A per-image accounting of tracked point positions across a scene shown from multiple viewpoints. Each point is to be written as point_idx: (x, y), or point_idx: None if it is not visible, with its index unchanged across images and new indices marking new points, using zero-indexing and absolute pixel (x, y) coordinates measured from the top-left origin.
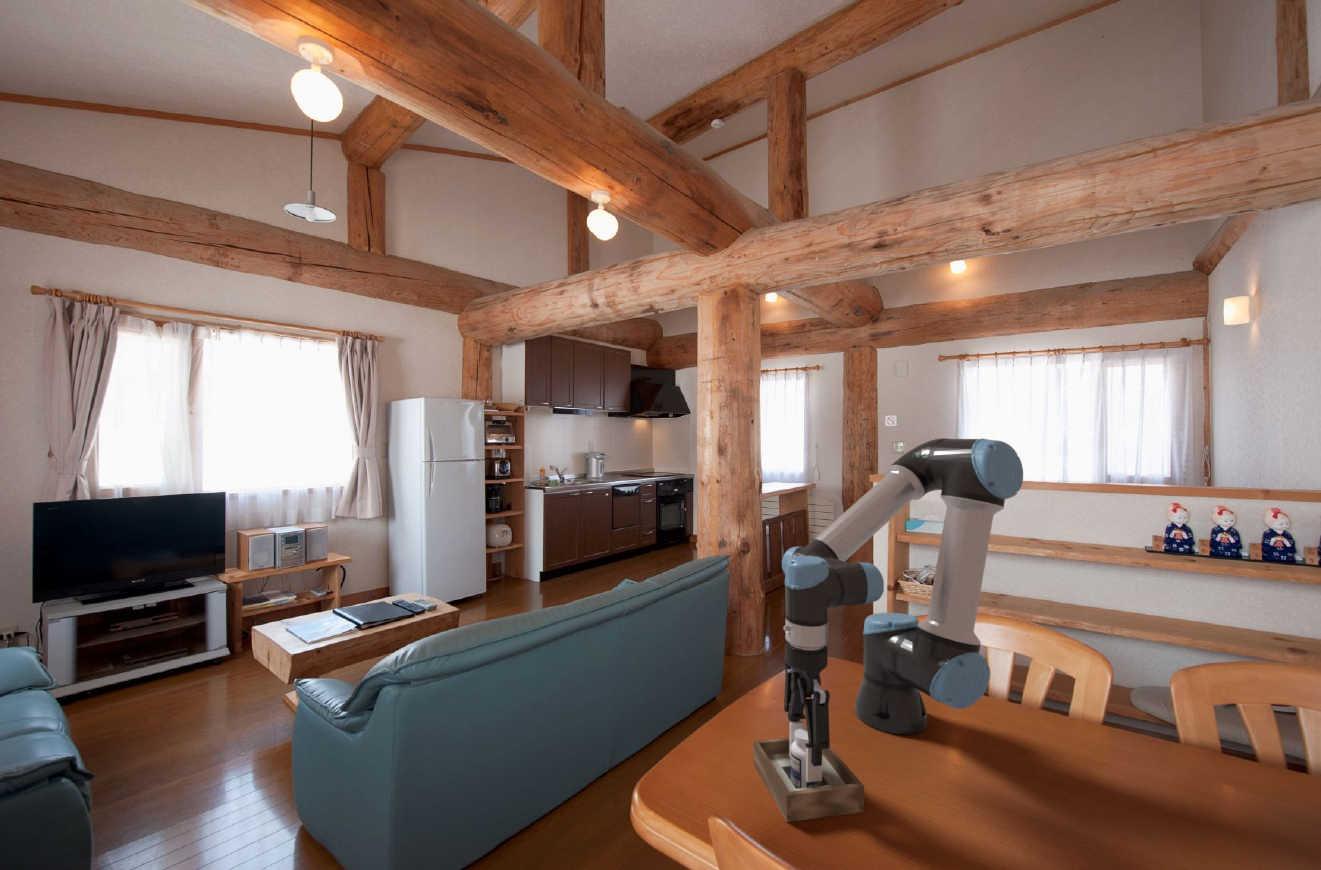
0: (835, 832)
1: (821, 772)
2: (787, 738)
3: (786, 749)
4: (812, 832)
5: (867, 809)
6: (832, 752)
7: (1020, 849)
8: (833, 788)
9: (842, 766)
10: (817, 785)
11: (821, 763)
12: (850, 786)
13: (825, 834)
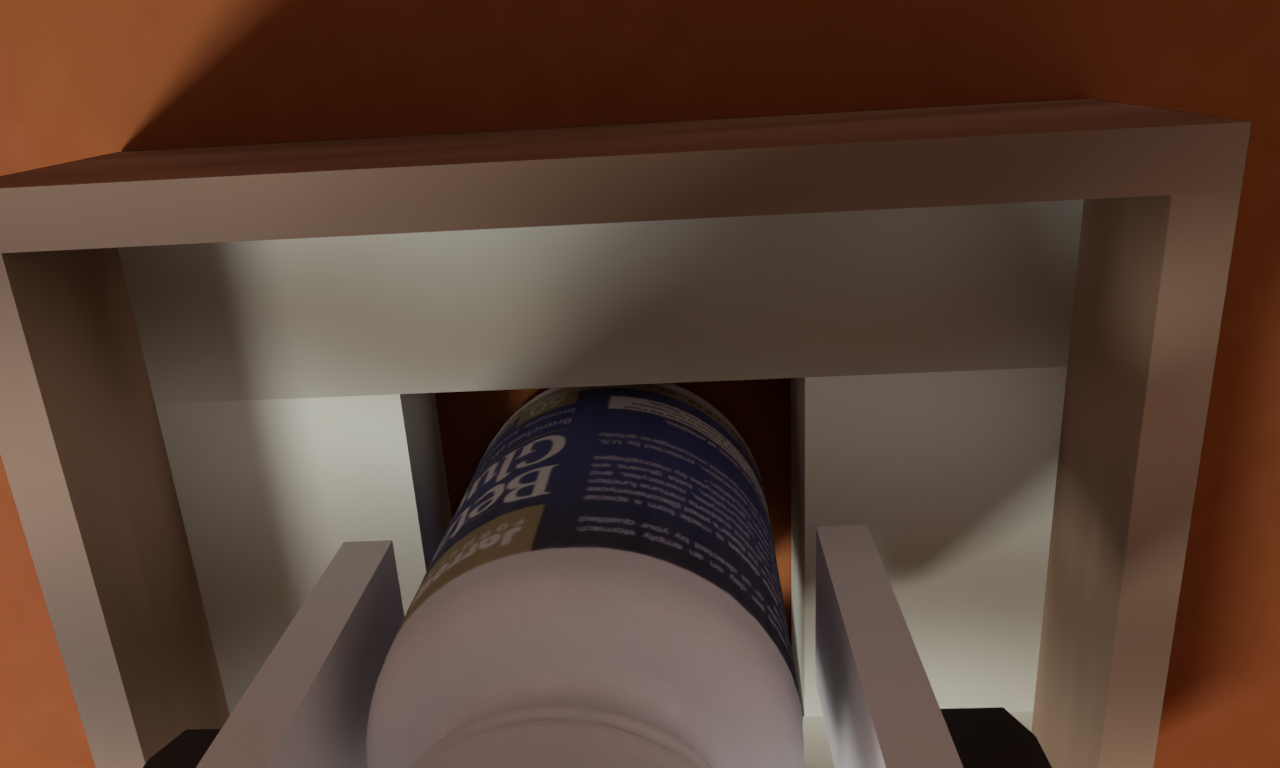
0: (1247, 490)
1: (888, 585)
2: (81, 670)
3: (182, 624)
4: (1184, 662)
5: (1062, 30)
6: (410, 213)
7: None
8: (1169, 544)
9: (748, 213)
10: (756, 482)
11: (1037, 744)
12: (1198, 317)
13: (1239, 577)
